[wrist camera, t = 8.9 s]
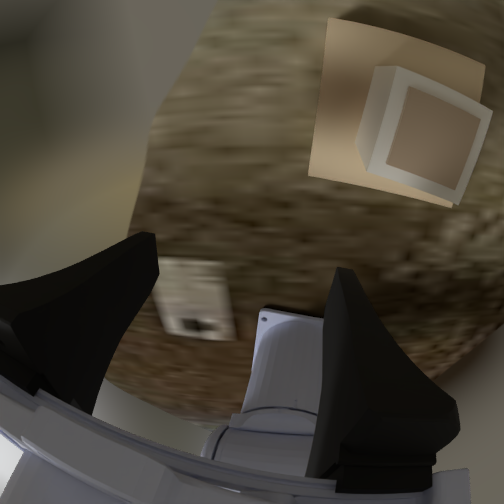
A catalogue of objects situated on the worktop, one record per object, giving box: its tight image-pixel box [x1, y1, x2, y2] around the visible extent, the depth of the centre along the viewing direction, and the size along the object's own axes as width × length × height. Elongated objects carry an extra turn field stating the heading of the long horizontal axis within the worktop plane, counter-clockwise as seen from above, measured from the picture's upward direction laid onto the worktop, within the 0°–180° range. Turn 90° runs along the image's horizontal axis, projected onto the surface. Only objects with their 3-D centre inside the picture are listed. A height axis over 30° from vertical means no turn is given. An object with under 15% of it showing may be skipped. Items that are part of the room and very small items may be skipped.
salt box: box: [355, 66, 493, 205], centre depth 12 cm, size 4×4×5 cm
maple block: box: [308, 17, 486, 208], centre depth 15 cm, size 9×9×3 cm
